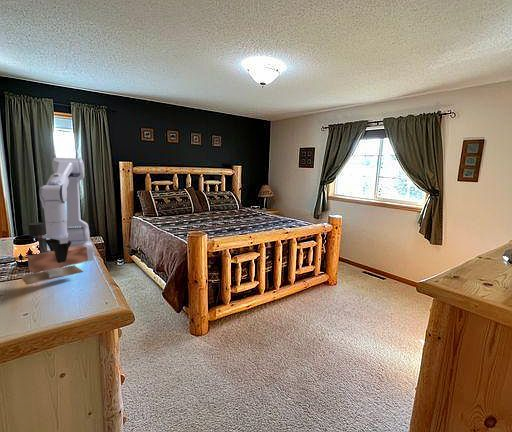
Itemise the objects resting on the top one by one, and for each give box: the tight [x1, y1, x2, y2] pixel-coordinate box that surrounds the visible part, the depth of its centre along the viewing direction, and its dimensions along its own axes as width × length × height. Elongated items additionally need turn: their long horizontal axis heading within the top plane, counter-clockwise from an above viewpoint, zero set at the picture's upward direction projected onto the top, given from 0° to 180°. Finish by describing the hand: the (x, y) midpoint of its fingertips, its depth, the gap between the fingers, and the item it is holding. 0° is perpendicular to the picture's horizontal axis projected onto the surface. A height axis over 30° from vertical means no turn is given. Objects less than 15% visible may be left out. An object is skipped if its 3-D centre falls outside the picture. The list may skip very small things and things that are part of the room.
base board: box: [20, 264, 84, 285], centre depth 102 cm, size 17×11×1 cm, turn 139°
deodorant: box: [27, 222, 49, 253], centre depth 127 cm, size 6×6×15 cm
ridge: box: [42, 267, 64, 279], centre depth 102 cm, size 4×9×4 cm, turn 49°
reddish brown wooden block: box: [27, 245, 89, 274], centre depth 94 cm, size 16×4×5 cm, turn 146°
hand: (59, 260), depth 94 cm, fingers closed on reddish brown wooden block, 4 cm apart
